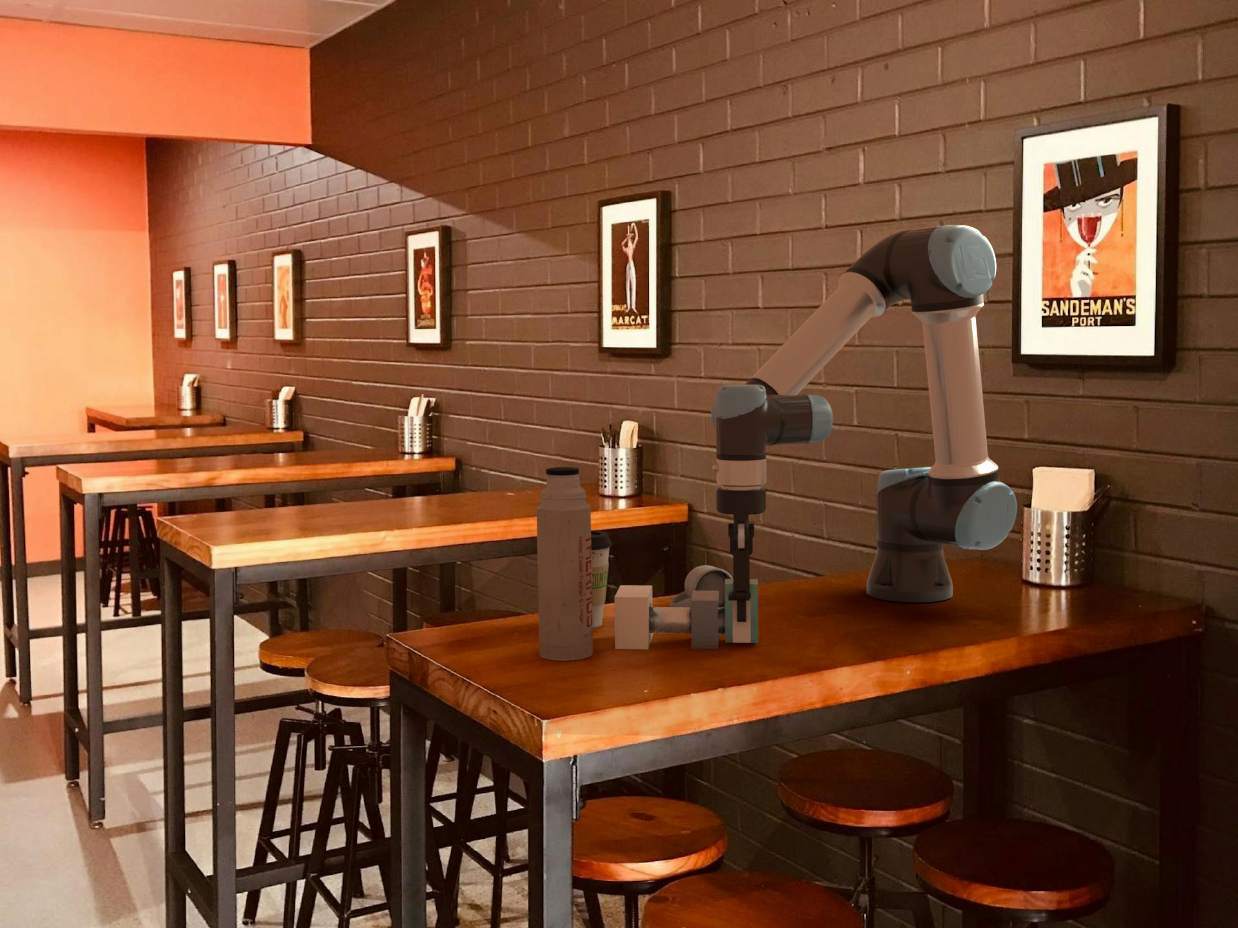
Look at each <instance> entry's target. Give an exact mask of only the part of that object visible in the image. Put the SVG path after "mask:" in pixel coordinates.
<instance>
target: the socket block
mask: <svg viewBox="0 0 1238 928" xmlns="http://www.w3.org/2000/svg"><path fill="white" fill-rule="evenodd" d="M649 607H653V585H637V584H635V585H631V584H630V585H626V584H625V585H623V584H622V585H619V588H618V589H617V592H616V594H615V595H614V646H615V648H614V649H615V650H649V648H650V645H651V641H652V639H653V636H654V635H653V634H654V633H649Z"/></svg>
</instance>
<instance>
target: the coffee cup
mask: <svg viewBox="0 0 1238 928" xmlns="http://www.w3.org/2000/svg"><path fill="white" fill-rule="evenodd" d="M612 546H613V543H612V540H610V537H609V533H608V532H606V531H603V530H594V529H593V530H592V529H591V561H592V626H593V629H594V628H598V627H601V626H602V625H603V616H604V608H605V606H604V605H605V603H606V596H607V586H608V575H609V574H608V573H609V568H610V562H609V554H610V548H611V547H612Z"/></svg>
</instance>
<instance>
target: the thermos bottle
mask: <svg viewBox="0 0 1238 928" xmlns="http://www.w3.org/2000/svg"><path fill="white" fill-rule="evenodd" d="M545 474H546V475H547V477H546V487H545V488H544V489H542V490H541V491H540V495H539V497H540V501H541V502H540V504H539V505H537V506H536V542H537V543H536V544H537V545H536V548H537V549H536V550H537V552H536V553H537V589H538V593H537V594H538V637H539V638H538V640H539V641H538V643H539V645H538V646H539V647H538V648H539V652H538V653H539V656H540V658H542V659H546V660H551V661H558V662H567V661H570V662H571V661H579V660H583V659H587V658H590V657H592V656H593V654H594V650H593V649H594V644H593V643H594V641H593V639H594V637H593V636H594V635H593V634H594V633H593V629H594V628H593V626H592V561H591V530H592V517H591V516H592V513H591V512H592V509H591V508H592V507H591V505H590V504H588V503H587V497H588V496H587V495H586V490H585V489H584V488H583V487H581V483H580V479H581V478H580V477H579V475H580V469H579V467H574V466H573V467H570V466H557V467H550V468H545Z"/></svg>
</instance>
